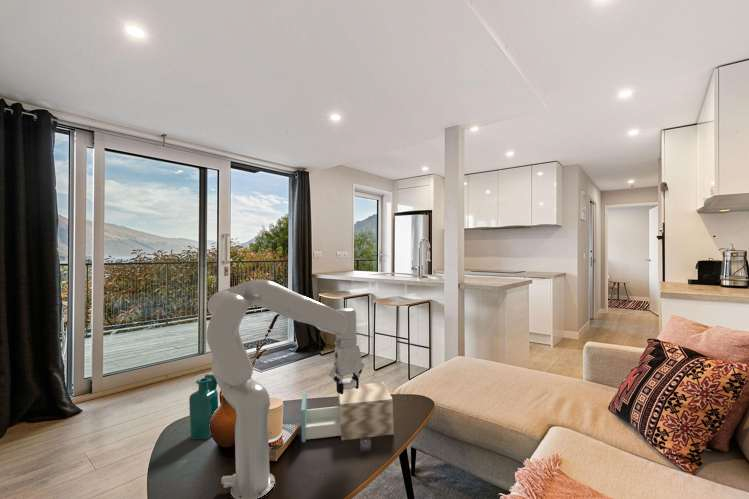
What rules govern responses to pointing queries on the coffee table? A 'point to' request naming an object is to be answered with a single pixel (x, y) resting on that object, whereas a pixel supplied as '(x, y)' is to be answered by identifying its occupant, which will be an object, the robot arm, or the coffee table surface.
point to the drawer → (319, 421)
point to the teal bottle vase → (203, 407)
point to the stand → (365, 444)
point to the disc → (349, 383)
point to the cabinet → (366, 411)
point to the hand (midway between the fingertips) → (347, 390)
